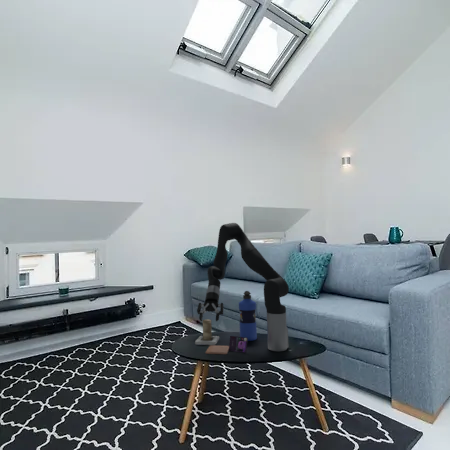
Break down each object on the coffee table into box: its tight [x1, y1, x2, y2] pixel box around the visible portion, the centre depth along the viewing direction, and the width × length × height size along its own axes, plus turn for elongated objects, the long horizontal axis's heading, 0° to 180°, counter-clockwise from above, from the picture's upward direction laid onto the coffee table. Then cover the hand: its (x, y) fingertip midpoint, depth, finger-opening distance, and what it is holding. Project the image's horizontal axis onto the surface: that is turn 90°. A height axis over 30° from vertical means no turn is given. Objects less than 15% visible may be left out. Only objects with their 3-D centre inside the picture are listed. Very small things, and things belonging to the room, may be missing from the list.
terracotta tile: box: [205, 344, 230, 355], centre depth 160 cm, size 10×10×1 cm
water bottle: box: [238, 290, 258, 342], centre depth 179 cm, size 9×9×25 cm
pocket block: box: [194, 335, 220, 346], centre depth 174 cm, size 10×10×2 cm
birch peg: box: [202, 318, 213, 341], centre depth 175 cm, size 4×4×11 cm
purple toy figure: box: [228, 335, 249, 354], centre depth 160 cm, size 7×5×9 cm
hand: (208, 320), depth 179 cm, fingers open, 8 cm apart
